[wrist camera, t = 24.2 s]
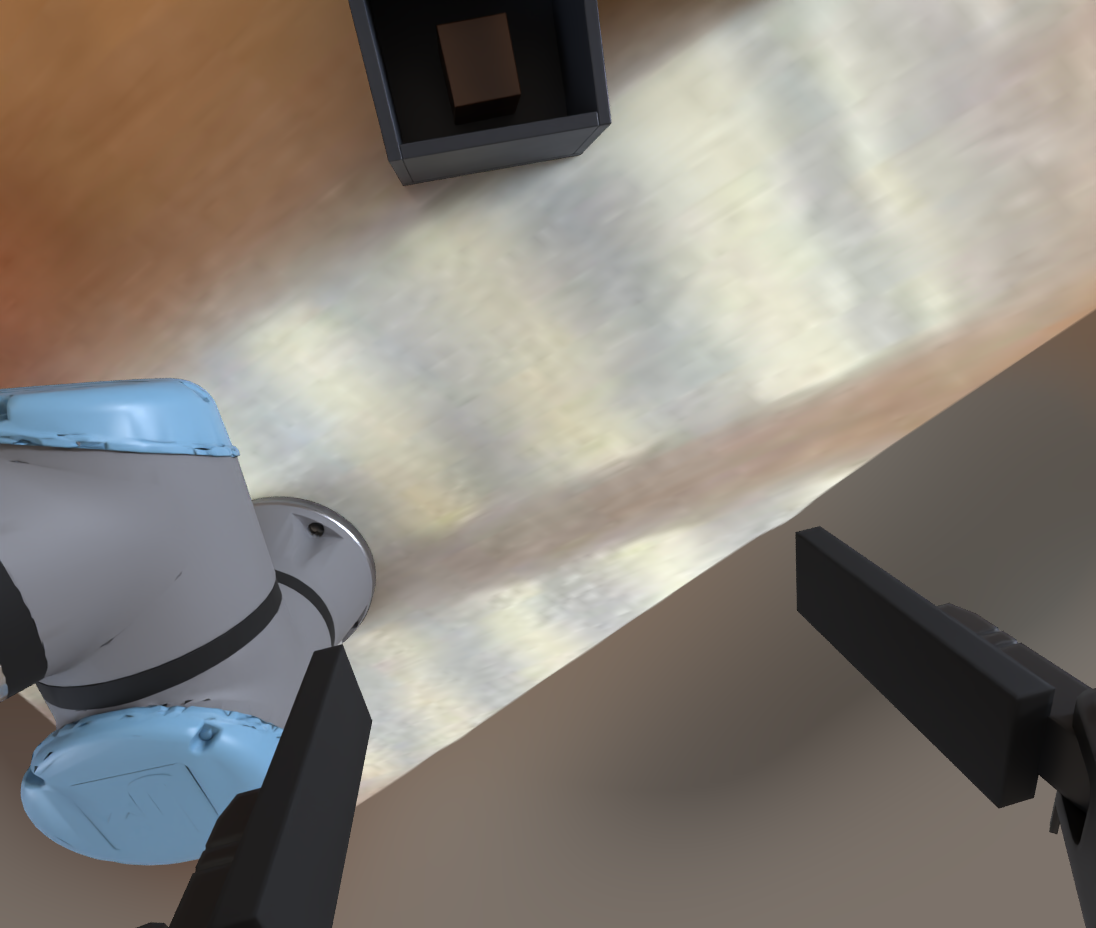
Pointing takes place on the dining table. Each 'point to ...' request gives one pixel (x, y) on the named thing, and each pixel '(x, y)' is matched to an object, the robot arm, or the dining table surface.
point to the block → (479, 68)
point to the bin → (521, 138)
